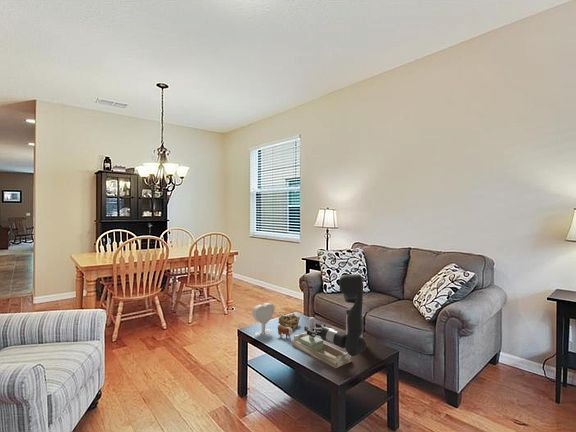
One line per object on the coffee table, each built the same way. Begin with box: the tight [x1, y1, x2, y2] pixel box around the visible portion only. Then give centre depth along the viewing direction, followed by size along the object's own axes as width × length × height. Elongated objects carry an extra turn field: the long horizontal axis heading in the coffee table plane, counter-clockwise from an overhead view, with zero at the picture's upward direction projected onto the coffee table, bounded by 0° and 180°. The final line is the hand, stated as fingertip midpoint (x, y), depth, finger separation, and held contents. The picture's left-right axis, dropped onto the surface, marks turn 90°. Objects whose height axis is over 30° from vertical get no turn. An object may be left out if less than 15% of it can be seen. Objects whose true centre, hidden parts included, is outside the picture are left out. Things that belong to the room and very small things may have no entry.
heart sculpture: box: [251, 302, 275, 336], centre depth 206 cm, size 16×5×18 cm, turn 132°
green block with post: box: [300, 316, 324, 351], centre depth 180 cm, size 8×10×17 cm
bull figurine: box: [277, 324, 295, 339], centre depth 196 cm, size 4×13×8 cm, turn 41°
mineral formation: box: [278, 313, 301, 330], centre depth 217 cm, size 8×13×15 cm
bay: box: [291, 331, 353, 369], centre depth 175 cm, size 12×34×6 cm, turn 39°
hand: (310, 326), depth 181 cm, fingers open, 8 cm apart
